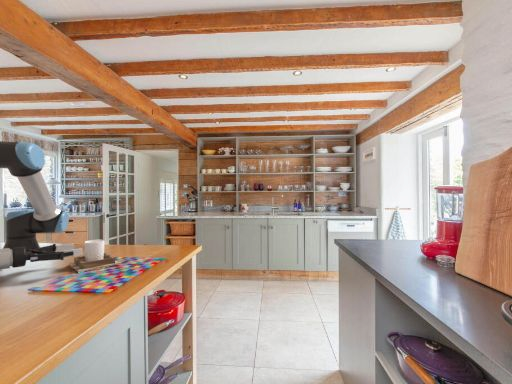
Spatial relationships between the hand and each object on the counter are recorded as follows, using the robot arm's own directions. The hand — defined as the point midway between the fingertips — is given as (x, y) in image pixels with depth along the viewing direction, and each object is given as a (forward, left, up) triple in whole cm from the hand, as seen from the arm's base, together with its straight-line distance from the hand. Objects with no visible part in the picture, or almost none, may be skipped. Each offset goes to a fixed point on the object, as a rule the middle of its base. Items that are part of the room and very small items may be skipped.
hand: (78, 248), depth 112 cm
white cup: (0, +6, -8) cm, 10 cm away
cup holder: (0, +6, -9) cm, 11 cm away
